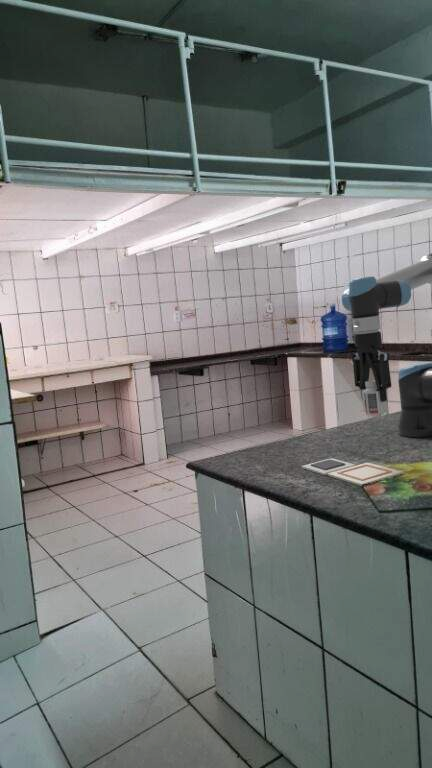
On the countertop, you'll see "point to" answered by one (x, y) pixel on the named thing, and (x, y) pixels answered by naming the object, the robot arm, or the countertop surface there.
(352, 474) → the print card
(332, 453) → the countertop surface
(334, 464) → the ink pad
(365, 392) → the pill bottle
